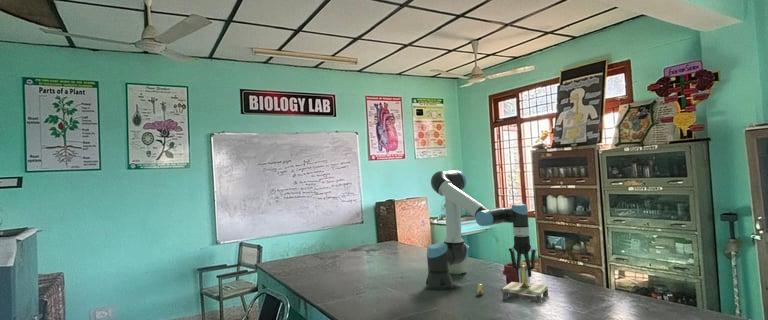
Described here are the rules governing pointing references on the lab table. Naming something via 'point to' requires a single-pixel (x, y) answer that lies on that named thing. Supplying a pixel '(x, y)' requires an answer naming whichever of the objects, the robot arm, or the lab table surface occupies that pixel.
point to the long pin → (523, 276)
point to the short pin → (480, 289)
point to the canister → (459, 267)
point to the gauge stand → (526, 290)
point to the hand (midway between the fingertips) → (524, 282)
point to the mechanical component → (510, 273)
